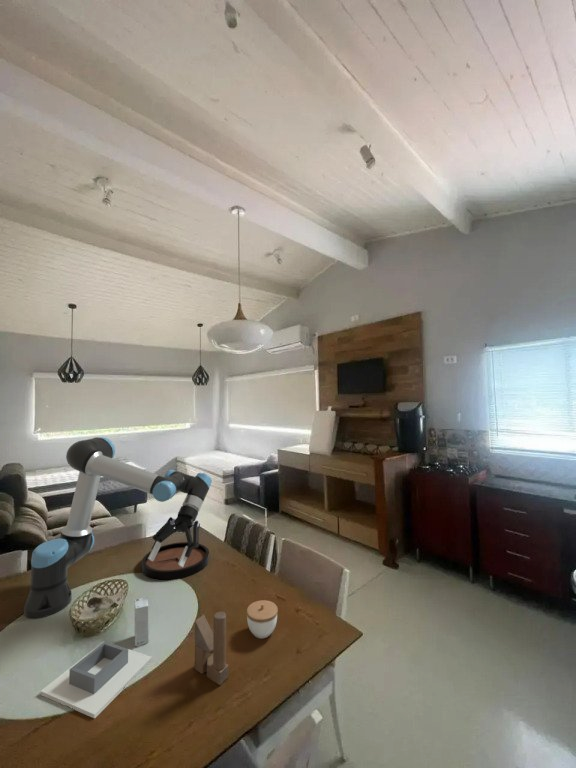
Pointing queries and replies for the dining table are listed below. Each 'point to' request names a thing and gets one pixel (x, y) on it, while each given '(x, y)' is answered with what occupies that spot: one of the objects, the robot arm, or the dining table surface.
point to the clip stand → (96, 678)
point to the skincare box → (141, 621)
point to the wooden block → (211, 648)
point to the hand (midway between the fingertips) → (165, 563)
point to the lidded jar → (262, 618)
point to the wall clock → (175, 562)
